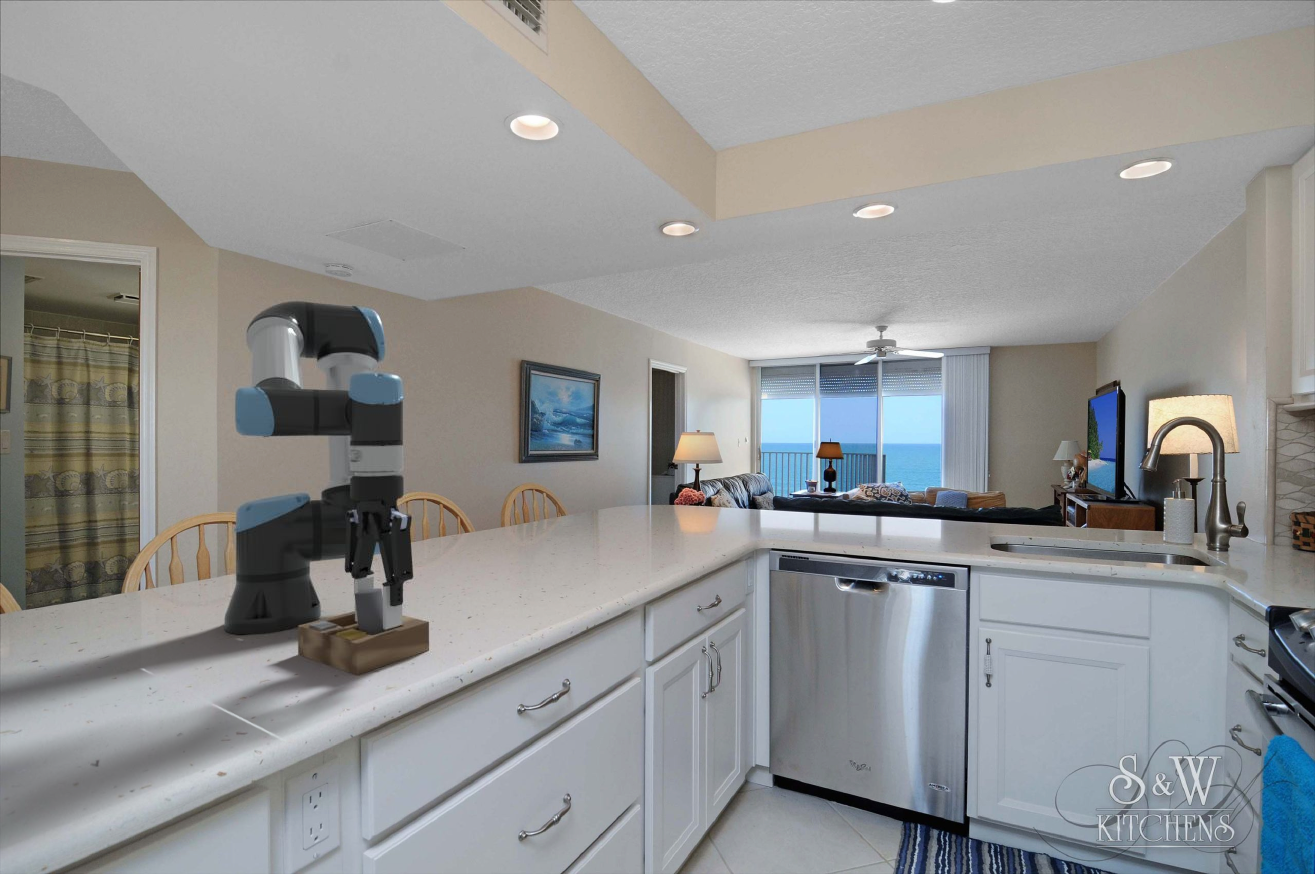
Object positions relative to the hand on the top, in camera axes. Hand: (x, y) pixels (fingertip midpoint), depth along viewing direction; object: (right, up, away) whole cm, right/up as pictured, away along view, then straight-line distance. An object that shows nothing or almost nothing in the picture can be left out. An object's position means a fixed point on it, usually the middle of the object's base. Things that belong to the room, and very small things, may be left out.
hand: (378, 622), depth 95 cm
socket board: (-3, -5, +2) cm, 7 cm away
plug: (0, -5, 0) cm, 5 cm away
